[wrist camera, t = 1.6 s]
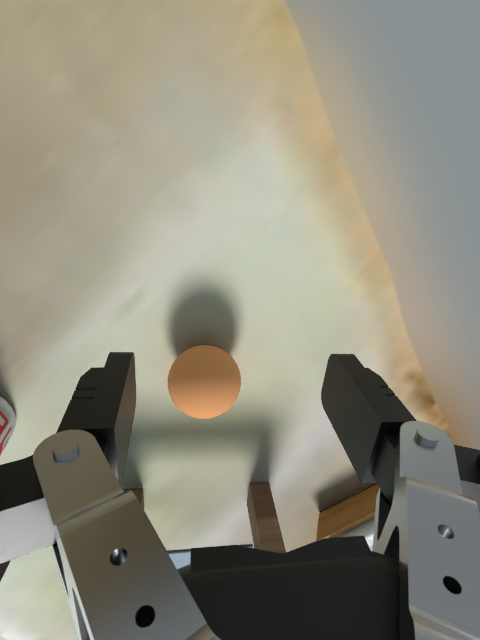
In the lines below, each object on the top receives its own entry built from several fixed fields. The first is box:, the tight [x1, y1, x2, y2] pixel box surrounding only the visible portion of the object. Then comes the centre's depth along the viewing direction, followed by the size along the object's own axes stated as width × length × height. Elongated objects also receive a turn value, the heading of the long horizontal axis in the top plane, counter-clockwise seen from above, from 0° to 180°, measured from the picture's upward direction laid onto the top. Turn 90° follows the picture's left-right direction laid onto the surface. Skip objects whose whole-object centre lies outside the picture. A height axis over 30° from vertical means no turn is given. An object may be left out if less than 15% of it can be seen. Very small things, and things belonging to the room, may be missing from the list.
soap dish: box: [316, 484, 379, 551], centre depth 40 cm, size 12×10×5 cm
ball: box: [168, 345, 241, 419], centre depth 28 cm, size 6×6×6 cm
